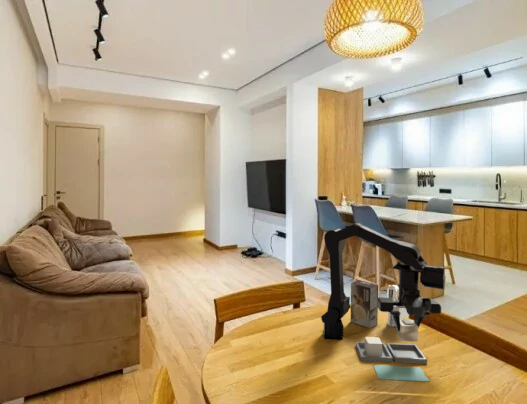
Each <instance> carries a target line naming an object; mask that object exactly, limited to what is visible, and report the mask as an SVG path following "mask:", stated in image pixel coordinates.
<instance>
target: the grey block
mask: <svg viewBox="0 0 527 404" xmlns="http://www.w3.org/2000/svg"><path fill="white" fill-rule="evenodd" d="M364 342H365V351H366V354H367V356H382V343H383V342H382V340H381V339H380V337H377V336H376V337H375V336H364Z"/></svg>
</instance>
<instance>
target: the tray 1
mask: <svg viewBox="0 0 527 404" xmlns="http://www.w3.org/2000/svg"><path fill="white" fill-rule="evenodd" d="M355 348H356V351H357V353H358V356H359V357H360V358H359V359H360V361H361V362H377V363H394V359H393V357H392V356H391V354H390V352H389V350H388V349H387V344H385V342H382V356H367V354H366V351H365V341H355Z"/></svg>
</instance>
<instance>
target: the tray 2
mask: <svg viewBox="0 0 527 404" xmlns="http://www.w3.org/2000/svg"><path fill="white" fill-rule="evenodd" d="M386 347H387V349H388V350H389V352H390V354H391V356H392V357H393V362H394V363H396V364H397V363H400V364H403V363H404V364H424V365H427V363H428V359H427V358H426V356H425V355H424V353H423V352H422V351H421V350H420V348H419V347H418V346H417V344H416V343H393V342H389V343H388V342H386Z"/></svg>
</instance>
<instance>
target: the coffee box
mask: <svg viewBox="0 0 527 404" xmlns="http://www.w3.org/2000/svg"><path fill="white" fill-rule="evenodd" d="M378 298H379V284H376V283H373V282H369V281H365V280H360V279H358V280H355V281H353V282H351V283H350V322H352V323H353V324H355V325H359V326H362V327H364V328H369V329H371V328H373V327H375V326H377V325H378V318H379V317H378V315H379V312H378V311H379V308H378V307H377V305H376V300H377V299H378Z"/></svg>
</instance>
